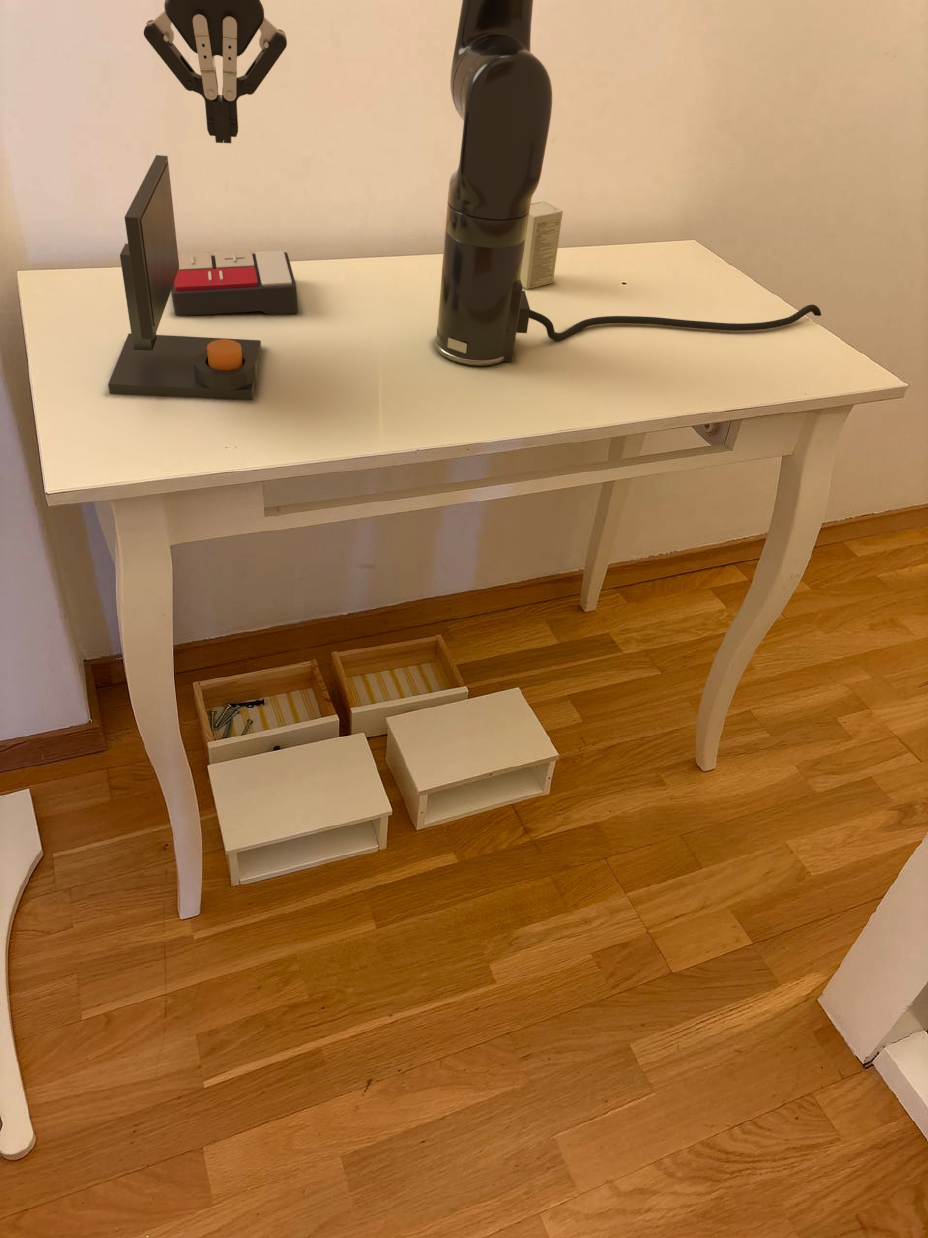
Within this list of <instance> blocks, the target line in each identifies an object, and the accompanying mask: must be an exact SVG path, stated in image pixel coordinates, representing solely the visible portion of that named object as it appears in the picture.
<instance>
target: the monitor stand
mask: <svg viewBox="0 0 928 1238" xmlns="http://www.w3.org/2000/svg"><path fill="white" fill-rule="evenodd" d="M119 259H120V266H121V273H122V280H123V286H124V287H123V288H124V293H125V300H126V307H127V313H128V320H129V328H130V333H131V335H132V342H133V348H134V350H153V347H154V344H155V342H156V339H157V335H158V334H157V333H156V334H155V337H154V340H145V339H141V332H140V325H139V318H138V311H137V304H136V296H135V289H134V282H133V275H132V268H131V260H130V253H129V246H128V243H124V245H123V247H122V249H121V252H120V254H119Z"/></svg>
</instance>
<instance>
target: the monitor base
mask: <svg viewBox="0 0 928 1238" xmlns="http://www.w3.org/2000/svg"><path fill="white" fill-rule="evenodd" d="M156 335H157V339H156V342H155V344H154V347H153V350H134V348H133V342H132V335H131V332H129V333H127V335H126V338H125V341H124V343H123V346H122V349H121V351H120V354H119V357H118V358H117V361H116V364H115V366H114V368H113V371H112V373H111V376H110V379H109V381H108V383H107V386H108V391H109V392H108V393H109V394H110V395H125V396H127V395H129V396H149V397H150V396H151V397H170V398H171V397H172V398H173V397H174V398H191V399H192V398H196V399H213V400H214V399H215V400H216V399H217V400H239V401H253V398H254V394H255V388H256V381H257V376H258V370H259V364H260V359H261V353H262V341H261V340H259V339H244V338H243V339H242V338H227V337H226V338H223V337H207V336H206V337H205V336H186V335H168V334H156ZM221 339H227V340H233V341H236V342H238V343H239V344H240V345H241V350H242V366H241V367H240V368H238V369H234V370H229V371H227V370H216V369H214V368H211V367H209V364H208V354H207V345H208V344H209V343H210V342H212V341H215V340H221Z"/></svg>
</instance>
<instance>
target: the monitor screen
mask: <svg viewBox="0 0 928 1238" xmlns="http://www.w3.org/2000/svg"><path fill="white" fill-rule="evenodd" d="M169 166H170V165H169V156H168V155H159V154H156V155H155V157H154V159H153V160H152V162H151V164H150V166H149V168H148V170H147V172H146V174H145V176H144V178H143V180H142V182H141V184H140V186H139V188H138V190H137V192H136V193H135V196H134V197H133V199H132V201H131V203H130V205H129V207H128V209H127V212H126V213H125V215H124V223H125V233H126V239H127V244H128V246H129V253H130V260H131V268H132V275H133V282H134V289H135V296H136V304H137V311H138V318H139V325H140V332H141V339H145V340H154V337H155V334H156V335H157V331H158V330H159V329H158V328H159V326H160V323H161V320H162V317H163V315H164V312H165V309H166V306H167V303H168V301H169V298H170V295H171V290H172V287H173V284H174V281H175V278H176V276H177V273H178V270H179V259H178V254H179V251H178V242H177V241H178V240H177V232H176V223H175V213H174V203H173V194H172V184H171V176H170V175H171V174H170V167H169Z"/></svg>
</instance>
